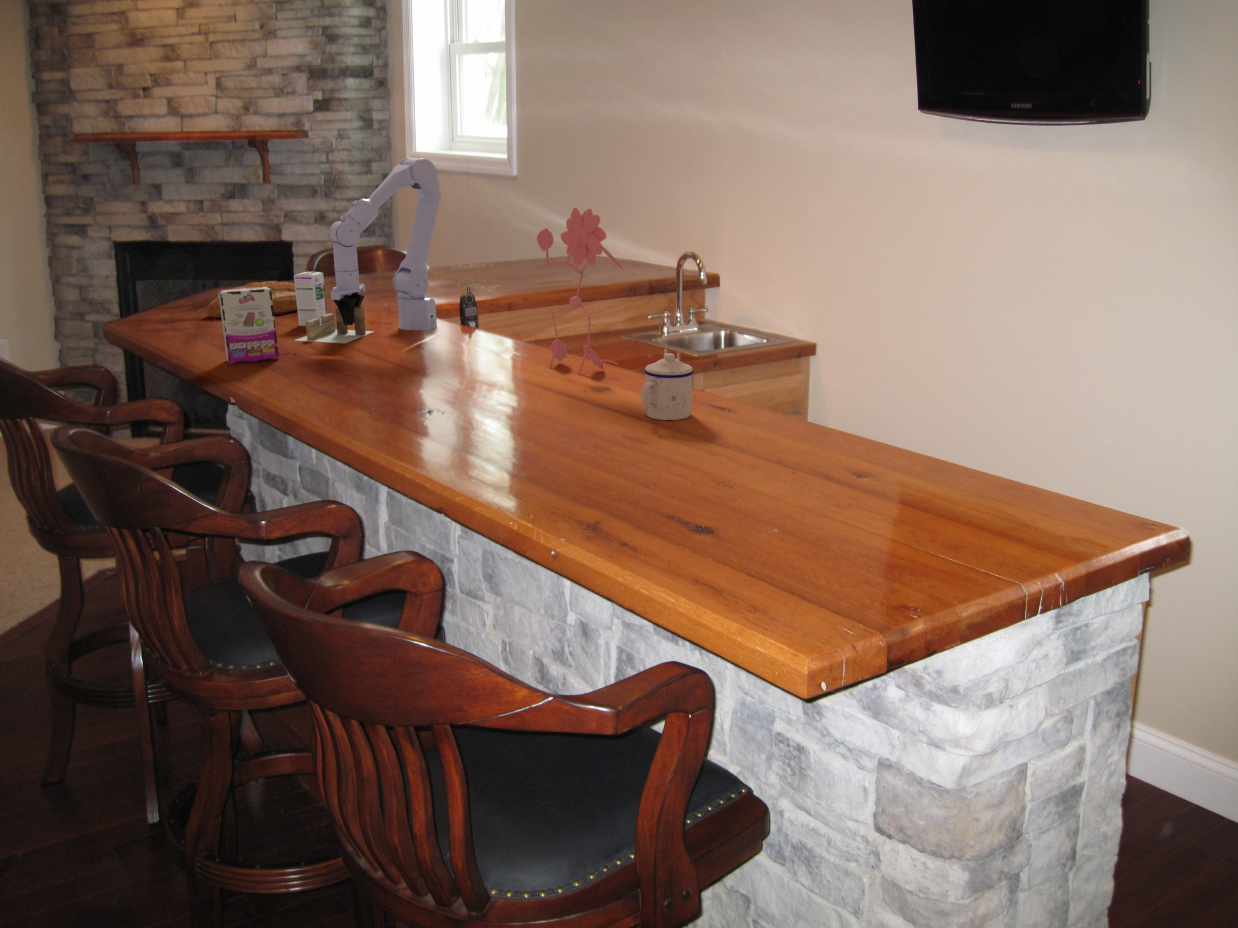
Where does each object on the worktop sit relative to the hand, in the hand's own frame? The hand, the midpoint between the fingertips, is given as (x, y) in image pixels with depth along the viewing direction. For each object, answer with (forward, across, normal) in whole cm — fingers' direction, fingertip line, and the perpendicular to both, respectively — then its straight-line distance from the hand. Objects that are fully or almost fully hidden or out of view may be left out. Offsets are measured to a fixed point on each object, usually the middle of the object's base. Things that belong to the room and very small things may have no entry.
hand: (350, 324), depth 260 cm
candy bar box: (+4, +30, -10) cm, 32 cm away
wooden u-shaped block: (+3, +4, -6) cm, 8 cm away
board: (+3, +3, -3) cm, 5 cm away
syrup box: (+4, -10, -16) cm, 20 cm away
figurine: (+4, +18, +66) cm, 69 cm away
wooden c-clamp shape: (+3, 0, 0) cm, 3 cm away
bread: (+4, -29, -42) cm, 52 cm away
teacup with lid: (+4, +56, +92) cm, 107 cm away
